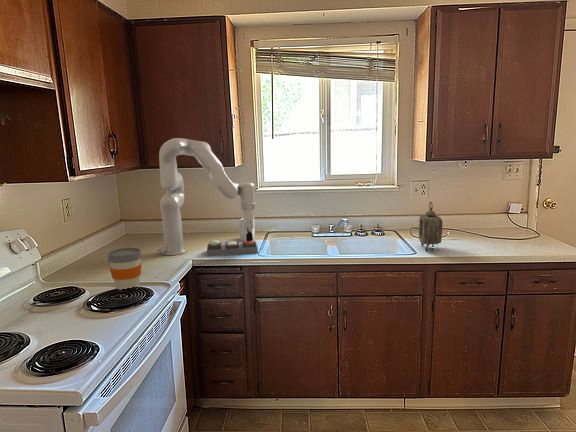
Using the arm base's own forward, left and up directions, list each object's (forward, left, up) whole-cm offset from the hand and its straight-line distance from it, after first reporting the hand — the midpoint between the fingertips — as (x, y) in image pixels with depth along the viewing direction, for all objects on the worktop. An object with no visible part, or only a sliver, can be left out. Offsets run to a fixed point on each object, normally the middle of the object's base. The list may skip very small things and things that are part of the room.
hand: (249, 240), depth 215 cm
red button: (0, 0, -2) cm, 2 cm away
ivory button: (-8, +5, -3) cm, 10 cm away
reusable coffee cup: (-68, -7, -6) cm, 68 cm away
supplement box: (+14, +21, -6) cm, 26 cm away
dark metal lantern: (+68, -66, -6) cm, 95 cm away
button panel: (-8, +5, -6) cm, 11 cm away
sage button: (-15, +10, -1) cm, 18 cm away
